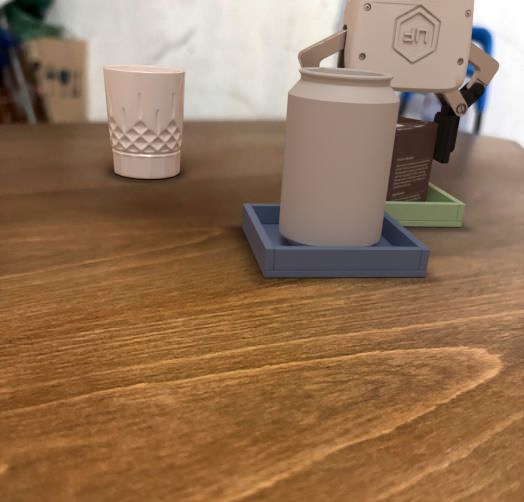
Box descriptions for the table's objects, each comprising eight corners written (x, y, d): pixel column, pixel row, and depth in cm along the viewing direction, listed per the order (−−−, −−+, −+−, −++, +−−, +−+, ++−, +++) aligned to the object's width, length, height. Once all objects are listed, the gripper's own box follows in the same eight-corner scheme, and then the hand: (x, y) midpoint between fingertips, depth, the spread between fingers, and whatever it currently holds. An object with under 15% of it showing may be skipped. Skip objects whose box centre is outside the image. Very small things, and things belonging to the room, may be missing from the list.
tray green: (415, 194, 67) (418, 174, 66) (461, 227, 57) (466, 204, 56) (306, 192, 65) (308, 172, 64) (335, 226, 56) (338, 202, 55)
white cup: (125, 161, 73) (122, 63, 69) (194, 168, 72) (195, 68, 68) (95, 176, 66) (89, 67, 62) (170, 184, 65) (170, 74, 61)
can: (393, 260, 47) (421, 76, 41) (288, 261, 45) (303, 70, 40) (361, 229, 53) (382, 66, 48) (269, 228, 52) (279, 61, 47)
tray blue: (375, 229, 55) (378, 205, 54) (425, 277, 46) (430, 249, 45) (241, 227, 53) (242, 203, 53) (264, 277, 44) (265, 248, 43)
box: (375, 192, 65) (386, 113, 62) (427, 206, 61) (441, 123, 58) (333, 200, 61) (342, 116, 58) (385, 216, 57) (398, 127, 54)
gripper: (320, -81, 47) (300, 166, 55) (545, -62, 50) (496, 170, 57) (298, -71, 53) (283, 148, 61) (498, -54, 56) (460, 153, 64)
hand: (386, 159), depth 59 cm, fingers open, 9 cm apart
